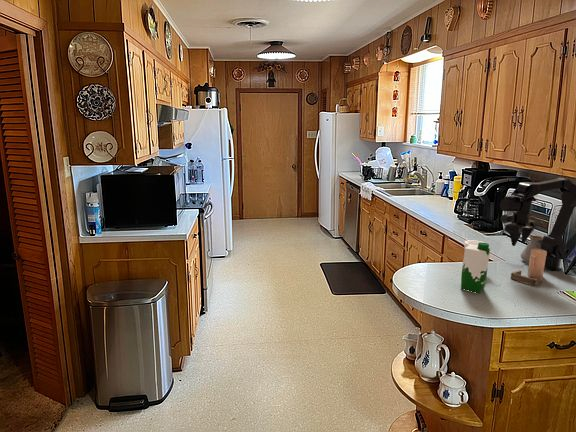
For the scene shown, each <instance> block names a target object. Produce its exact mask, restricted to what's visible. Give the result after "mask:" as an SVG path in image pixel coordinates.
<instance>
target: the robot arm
mask: <svg viewBox="0 0 576 432" xmlns="http://www.w3.org/2000/svg"><path fill="white" fill-rule="evenodd" d="M557 189H558V191H559V192H560V193H561V196H560V200H561V206H560V210H559V211H558V213H557V217H556V219H555V222H554V224H553V226H552V229H551V231H550V233H549V234H548V235H543V236H542V237H543V240H542V242H541V248H542V250H545V251H547V254H546V260H545V266H544V269H545V270H549V271H552V272H554V271H555V272H556V271H563V268H562V267H561V261H562V260H563V259H566V257H567V255H568V254H567V253H566V251H565V250H564V244H565V243H564V238H563V236H564V234H565V231H566V229H567V227H568V225H569V222H570V219H571V217H572V214H573V212H574V210H575V208H576V184H574V183H573V182H572V181H571V180H570V179H568V178H564V177H557V178H554V179H550V180H543V181H538V182H530V181H522V182H519V183H518V185H517V186H516V187H515V189H514V190H513V191H512V193H511V194H510V196H509V195H504V198H502V199H501V201H500V203H499V206H500V210H501V212H513V213H512V214H510V215H509V214H502V215H501V217H500V221H501V223H502V224H506V225H504V228H503V229H504V230H506V231H505V232H506V233H507V234H509V237H510V241H511V246H513V247H515V246H516V244H517V243H518V241H519V240H520V238H519V237H521V238H522V240H521V243H526V242H525V241H526V240H527V241H528V238H529V236H531V234H532V233H533V232H534V230H536V228H537V227H538V222H537V220H531V219H530V217H532V216H533V213H531V212H532V205H533V204H532V203H533V202H537V198H535V196H538V195H539V194H540V193H542V192H547V191H552V190H557ZM507 223H508V224H507ZM504 230H503V231H504Z"/></svg>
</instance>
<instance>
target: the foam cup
mask: <svg viewBox="0 0 576 432" xmlns="http://www.w3.org/2000/svg"><path fill="white" fill-rule="evenodd" d="M478 243H485V242H484V241H481V240H473V239H472V240H471V239H470V240H464V249H465V248H466V247H467V246H469V245H470V244H473V245H478Z"/></svg>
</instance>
